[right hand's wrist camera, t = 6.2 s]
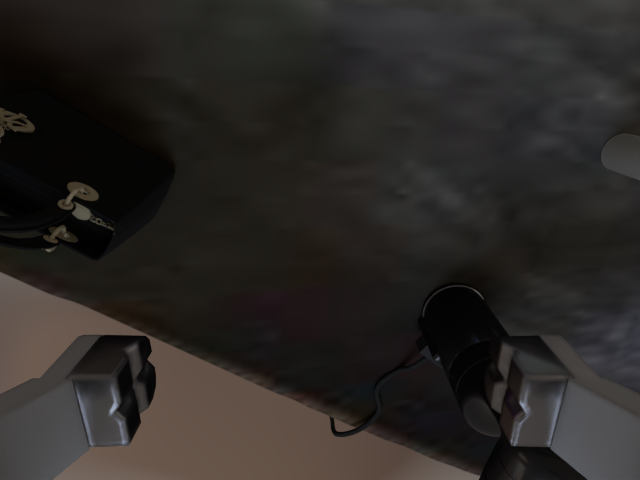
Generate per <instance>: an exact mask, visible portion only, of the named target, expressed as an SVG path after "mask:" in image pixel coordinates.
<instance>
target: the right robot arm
mask: <svg viewBox="0 0 640 480" xmlns="http://www.w3.org/2000/svg"><path fill="white" fill-rule="evenodd" d="M151 352H152V350H151V345H150V340H149V339H148V338H147V337H146V336H128V335H82V336H79V337H77V338H76V340H75V341H74V342H73V343H72V344H71V345H70V346H69V347H68V348H67V349H66V350H65V352H64V353H63V354H62V355H61V356H60V357H59V358H58V359H57V360H56V361H55V362H54V364H53V365H52V366H51V367H50V368H49V369H48V370H47V371H46V372H45V373H44V374H43V375H42V377H41V378H33V379H31V380H29V381H26V382H24V383H22V384H20V385H18V386H16V387H14V388H12V389H10V390H8V391H6V392H4V393H2V394H0V480H53V479H54V478H55V477H56V476H57V475H59V474H60V473H61V472H62V471H64V470H65V469H66V468H67V467H68V466H70V465H71V464H72V463H73V462H74V461H76V460H77V459H78V458H79V457H80V456H82V455H83V454H84V453H85V452H87V451H88V450H89V447H110V446H129V445H130V443H131V441H132V439H133V437H134V435H135V433H136V431H137V429H138V427H139V425H140V423H141V420H140V415H139V414H140V413H142V412H143V411H144V410H146V409H147V408H149V406H150V404H151V401H152V399H153V396H154V392H155V387H156V373H155V367H154V366H153V365H152V364H151V363H150V362H149V361H148V360H147V359H148V357H149V355H150V354H151ZM488 352H489V354H490V355H491V357H492V359H493V360H492V361H491V362H490V363H489V364H488V365H487V366H486V367H485V374H484V386H485V393H486V396H487V399H488V402H489V404H490V406H491V408H493V409H494V410H496V411H497V412H498V413H500V414H501V415H500V420H499V423H500V425H501V427H502V429H503V431H504V433H505V435H506V437H507V439H508V441H509V443H510V445H511V446H529V447H551V450H552V451H554V452H555V453H556V454H557V455H558V456H560V457H561V458H562V459H563V460H565V461H566V462H567V463H568V464H569V465H571V466H572V467H573V468H574V469H575V470H577V471H578V472H579V473H580V474H581V475H583V476H584V477H585V478H586V479H587V480H640V394H638V393H636V392H634V391H632V390H630V389H628V388H626V387H624V386H622V385H620V384H618V383H616V382H614V381H612V380H609V379H607V378H599V377H598V375H597V374H596V373H595V372H594V371H593V370H592V369H591V368H590V367H589V366H588V365H587V363H586V362H585V361H584V360H583V359H582V358H581V357H580V356H579V355H578V354H577V353H576V351H575V350H574V349H573V348H572V347H571V346H570V345H569V344H568V343H567V342H566V341H565V339H564V338H563V337H561V336H559V335H535V336H493V337H492V339H491V341H490V344H489V349H488Z"/></svg>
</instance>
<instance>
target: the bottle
mask: <svg viewBox="0 0 640 480" xmlns="http://www.w3.org/2000/svg"><path fill="white" fill-rule="evenodd" d="M601 161H602V164H603V165H604V167H605V168H607V169H609V170H611V171H614V172H617V173H620V174H623V175H626V176H629V177H632V178H635V179H637V180H640V136H637V135H632V134H625V133H624V134H618V135H616V136H614V137H612V138H611V139H610V140H608V141H607V143H606V144H605V145H604V147H603V149H602V152H601Z"/></svg>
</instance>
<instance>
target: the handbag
mask: <svg viewBox="0 0 640 480" xmlns="http://www.w3.org/2000/svg"><path fill="white" fill-rule="evenodd" d="M174 174H175V171H174V169H173V168H172V167H170V166H169V165H167V164H165V163H164V162H162V161H160V160H159V159H157V158H155V157H154V156H152V155H150V154H149V153H147V152H145V151H144V150H142V149H140V148H139V147H137V146H135V145H134V144H132V143H130V142H129V141H127V140H125V139H124V138H122V137H120V136H118V135H117V134H115V133H113V132H112V131H110V130H108V129H107V128H105V127H103V126H102V125H100V124H98V123H96V122H95V121H93V120H91V119H90V118H88V117H86V116H85V115H83V114H81V113H79V112H78V111H76V110H74V109H73V108H71V107H69V106H67V105H66V104H64V103H62V102H61V101H59V100H57V99H55V98H54V97H52V96H50V95H49V94H47V93H45V92H44V91H39V90H36V91H30V92H24V93H20V94H15V95H11V96H7V97H3V98H0V212H1V213H3V214H5V215H7V216H0V232H2V233H23V232H30V231H38V232H40V233H41V234H43V235H41V236H37V237H34V238H21V239H18V238H11V237H6V236H2V235H0V246H3V247H9V248H17V249H24V250H41V249H46V251H48V252H50V251H53V250H54V249H55V248H56V247H57V246H59V244H60V243H61V244H62V245H64V246H66V247H68V248H70V249H72V250H74V251H76V252H78V253H80V254H82V255H83V256H85V257H87V258H89V259H91V260H94V261H98V260H100V259H101V258H102V257H104V256H105V255H107V254H108V253H110V252H111V251H112V250H114V249H115V248H117V247H118V246H120V245H121V244H122V243H123V242H125V241H126V240H127V239H129V238H130V237H131V236H133V235H134V234H135V233H137V232H138V231H139V230H140V229H142V228H143V227H144V226H145V225H146V224H148V223H149V222H150V221H151V220H152V218H153V217H154V216H155V215H156V213H157V211H158V210H159V208H160V206H161V204H162V202H163V200H164V198H165V196H166V194H167V192H168V190H169V188H170V185H171V183H172V180H173V178H174Z"/></svg>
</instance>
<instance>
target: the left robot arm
mask: <svg viewBox="0 0 640 480" xmlns="http://www.w3.org/2000/svg"><path fill="white" fill-rule="evenodd" d="M418 323H419V325H420V328H421V330H422V333H423V335H422V336H421V337H420V338H419V339H418V340H416V344H417V347H418V350H419V352H420V353H421V354H422V355H423V356H424V357H423V358H421V359H420V360H418V361H417V362H415V363H413V364H412V365H410V366H404V367H400V368H398V369H396V370H394V371H392V372H390V373H388V374H387V375H385V376H384V377H383V378H381V379H380V380H379V382H378V383H377V384H376V387H375V390H374V396H375V400H376V404H377V410H376V412H375V414H374V415H373V416H372V417H371V418H370V419H369V420H368V421H367V422H365V423H364V424H362V425H361V426H359V427H357V428H355V429H353V430H350V431H346V432H338V431H336V429H335V422H334V418H332V417H330V416H329V417H330V424H331V431H332V433H333V434H334V435H335V436H338V437H346V436H350V435H354V434H356V433H358V432H360V431H362V430H364V429H366V428H367V427H368V426H370V425H371V424H372V423H373V422H374V421H375V420H376V419H377V418H378V416H379V415H380V413H381V410H382V404H381V400H380V397H379V390H380V387H381V386H382V385H383V384H384V383H385V382H386V381H387V380H388V379H390V378H392V377H393V376H395V375H397V374H399V373H401V372H404V371H405V372H407V371H411V370H414V369H416V368H417V367H419V366H421V365H422V364H424V363H425V362H427V361H428V360H430V361H432V362H433V363H435V364H436V365H437V366H439V367H440V368H442V369H443V370H444V371H445V374H446V376H447V378H448V381H449V383H450V385H451V388H452V390H453V393H454V395H455V398H456V400H457V402H458V405H459V407H460V410H461V412H462V414H463V416H464V418H465V420H466V421H467V423H468V424H469V425H470V426H471V427H472V428H474V429H475V430H476V431H478V432H480V433H482V434H485V435H489V436H494V437H499V439H498V441H497V443H496V445H495V447H494V449H493V451H492V453H491V455H490V457H489V459H488V461H487V463H486V465H485V467H484V469H483V471H482V474H481V476H480V478H479V480H587V479H586V478H585V477H584V476H583V475H581V474H580V473H579V472H578V471H577V470H575V469H574V468H573V467H572V466H571V465H569V464H568V463H567V462H566V461H565V460H563V459H562V458H561V457H560V456H558V455H557V454H556V453H555V452H554V451H552V450H551V447H529V446H511V445H510V443H509V441H508V439H507V437H506V435H505V433H504V431H503V429H502V427H501V425H500V423H499V420H500V415H501V414H500V413H498V412H497V411H496V410H494V409H493V408H491V406H490V404H489V402H488V399H487V396H486V393H485V386H484V374H485V367H486V366H487V365H488V364H489V363H490V362H491V361H492V360H493V359H492V357H491V355H490V354H489V352H488V349H489V344H490V341H491V339H492V337H493V336H509V335H508V333H507V332H506V331H505V329H504V328H503V326H502V325H501V323H500V322H499V321H498V319H497V318H496V316H495V315H494V314H493V312H492V311H491V309H490V308H489V307H488V305H487V304H486V302H485V300H484V299H483V297H482V296H481V294H480V293H479V292H478V291H477V290H476V289H474V288H473V287H471V286H468V285H465V284H449V285H445V286H442V287H440V288H438V289H437V290H435V291H434V292H433V293H431V294H430V296H429V297H428V298H427V299H426V301H425V303H424V305H423V309H422V316H421V317H420V318H419V319H418Z"/></svg>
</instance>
